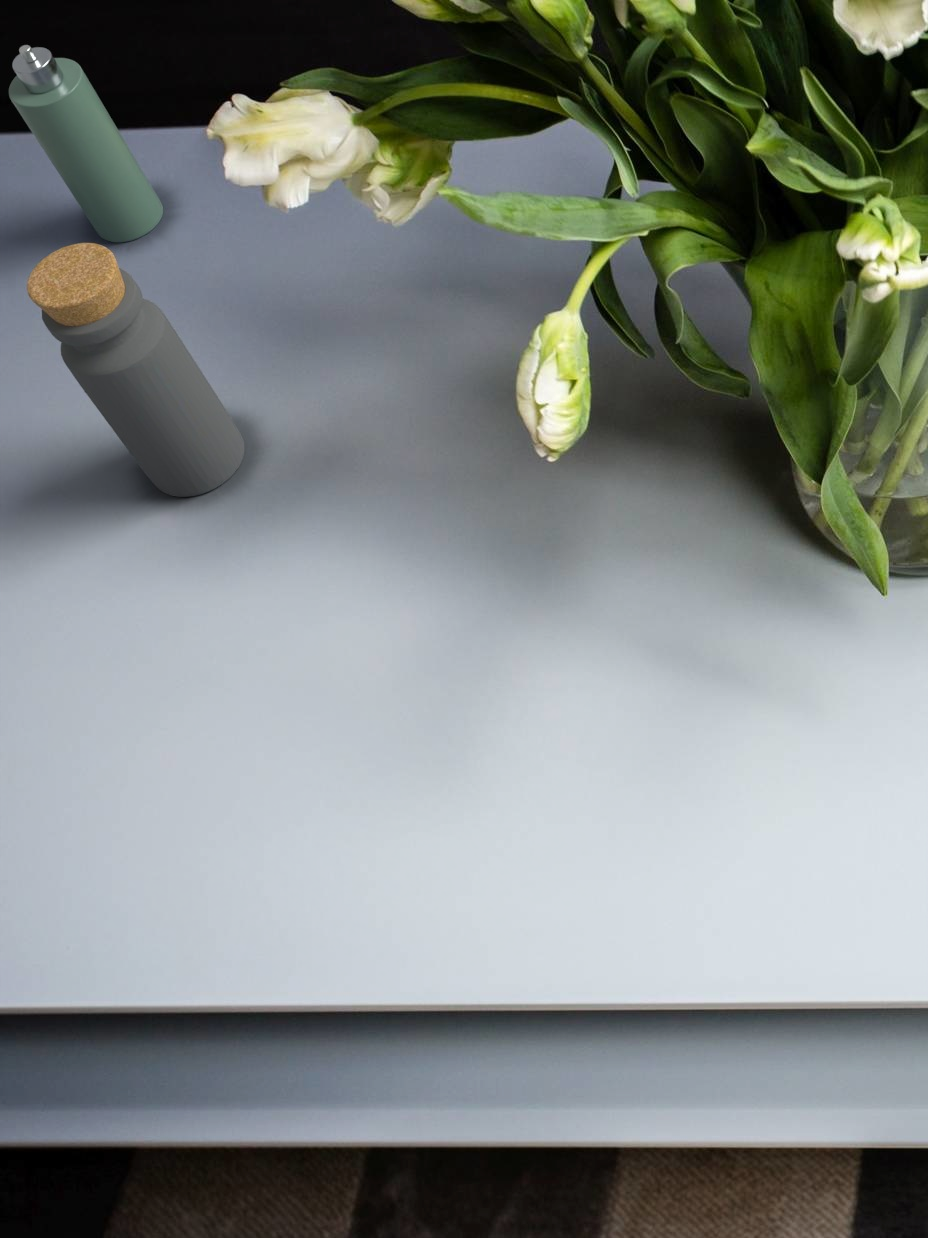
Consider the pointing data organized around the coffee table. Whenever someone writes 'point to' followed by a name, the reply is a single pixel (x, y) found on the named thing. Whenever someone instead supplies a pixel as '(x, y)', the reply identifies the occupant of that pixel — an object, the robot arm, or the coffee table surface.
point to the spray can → (84, 145)
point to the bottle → (136, 370)
